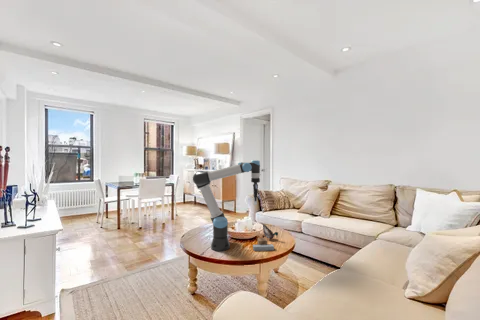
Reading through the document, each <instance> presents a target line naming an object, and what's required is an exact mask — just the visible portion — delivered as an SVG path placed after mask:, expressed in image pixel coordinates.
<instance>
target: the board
mask: <svg viewBox="0 0 480 320" xmlns="http://www.w3.org/2000/svg"><path fill="white" fill-rule="evenodd" d="M252 249H253V252H256V251H257V252H258V251H259V252H260V251H275V246H274V244H271V243H270V244H268V243H267V244H261V245H258V244H252Z"/></svg>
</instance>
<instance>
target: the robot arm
mask: <svg viewBox="0 0 480 320" xmlns="http://www.w3.org/2000/svg"><path fill="white" fill-rule="evenodd" d="M249 172H250V174H251V175H250V177H251V180H250V181H251V183H252V186H253V189H252V191H253V205H254V206H255V205H256V206H257V205H258V189H259V184H258V183H260V182H261V179H260V177H261V162H260V160H257V159H256V160H254V159H253V160H251V162H241V161H240V162H238V163H237V164H234V165H232V166H231V165H230V166H226V167H223V168H219V169H215V170H210V171H209V170H206V171H204V170H198V171H196V172H194V174H193V176H192V182H193V183H194V184H195V186H196V187H197V188H196V189H198V190H200V192H201V195H202V197H203V199H204V202H205V204H206V207H207V208H208V211H209V213H210V221H211V222H212V228H213V229H212V233H213V234H212V236H213V237H212V242H211V243H210V249H211V250H213V251H216V252H222V251H227V250H230V248H231V245H230V241H229V238H228V234H229V232H228V229H229V227H228V225H229V222H228V220H229V219H228V218H226V216H225V214H224V212H223V211H222V210H221V209H220V207H219V205H218V202H217V200H216V198H215V195H214V193H213V190H212V189H211V186H210V185H211V183H212V181H216V180H220V179H221V180H222V179H224V178H227V177H228V178H229V177H231V176H237V175H239V174H244V173H249Z"/></svg>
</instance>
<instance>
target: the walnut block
mask: <svg viewBox="0 0 480 320" xmlns="http://www.w3.org/2000/svg"><path fill="white" fill-rule="evenodd" d="M261 244H268V238H267V237H264V238H262V237H257V245H261Z"/></svg>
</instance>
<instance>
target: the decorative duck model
mask: <svg viewBox="0 0 480 320" xmlns="http://www.w3.org/2000/svg"><path fill="white" fill-rule="evenodd" d="M262 231H263V234H262V237H261V238H266V239H270V240H272V239H273V238H275V236H276V237H278V235H279V232H278V231H275V232H274V233H273V231H272V230H271V229H270V228H269V227H268V226H267V225H266V224H262Z"/></svg>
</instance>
